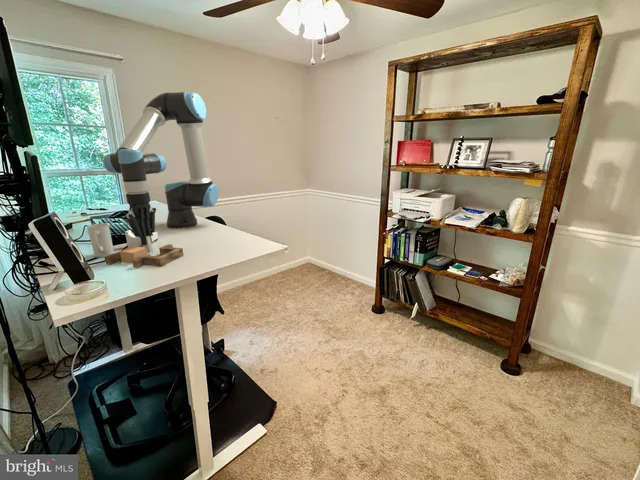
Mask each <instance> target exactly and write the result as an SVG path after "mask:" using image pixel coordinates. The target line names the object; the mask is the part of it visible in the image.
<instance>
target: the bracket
mask: <svg viewBox="0 0 640 480" xmlns="http://www.w3.org/2000/svg"><path fill="white" fill-rule="evenodd" d="M124 232H125V233H124V234H125V238H126V244H127V248H129V247H132V246H135V245H137V244H140V243H141V239H140V237H135V235H134V233H133V231H132V229H128V230H126V231H124ZM152 234H153V236H151V239H152V243H153V242H154V241H155V240H157V239H158V238H159V234H158V231H155V232H154V233H152Z"/></svg>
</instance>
